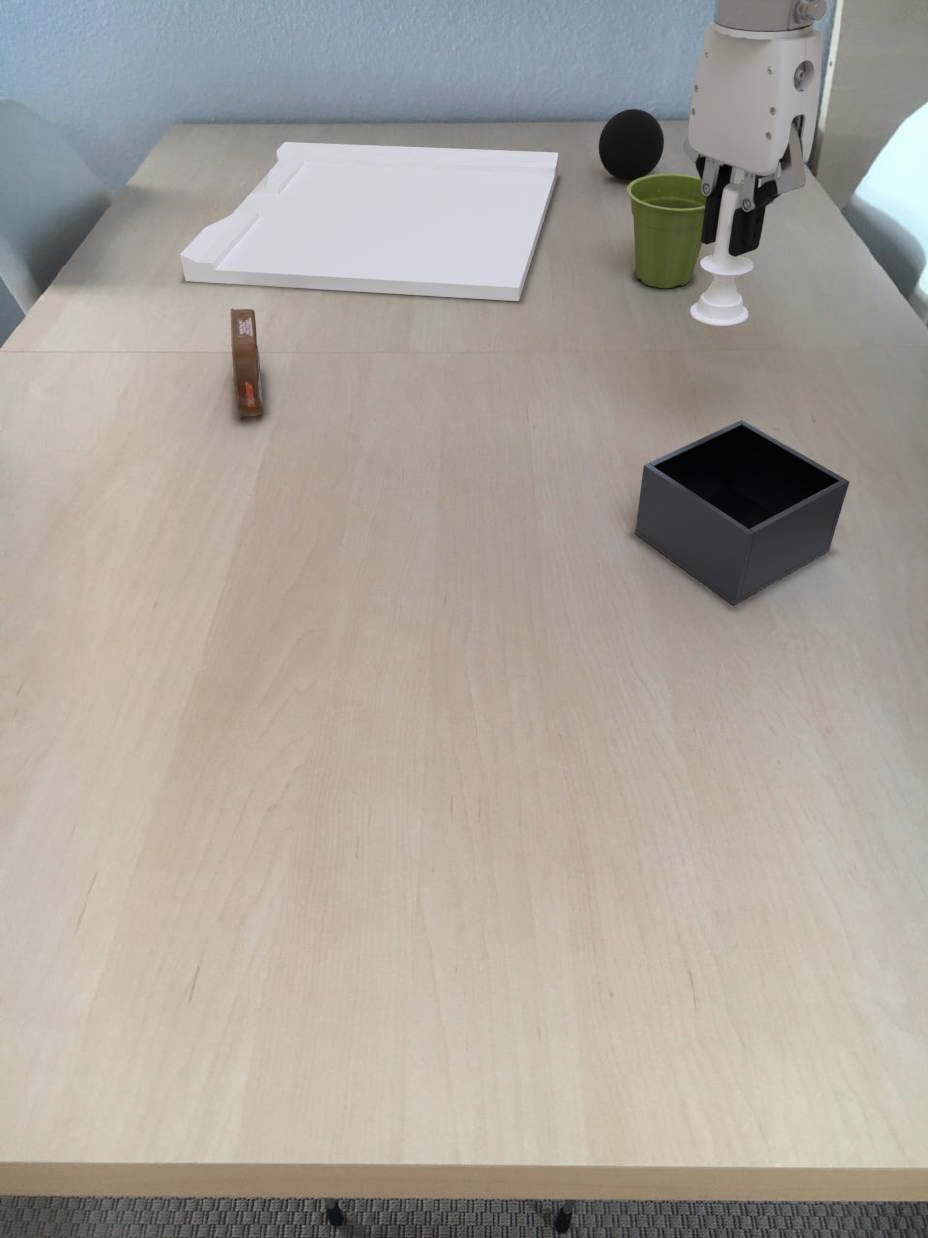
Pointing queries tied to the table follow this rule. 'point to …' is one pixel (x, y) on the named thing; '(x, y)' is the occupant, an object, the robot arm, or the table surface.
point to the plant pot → (667, 227)
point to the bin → (739, 509)
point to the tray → (384, 222)
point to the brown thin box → (246, 362)
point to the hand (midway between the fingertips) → (729, 243)
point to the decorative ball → (631, 144)
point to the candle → (723, 270)
